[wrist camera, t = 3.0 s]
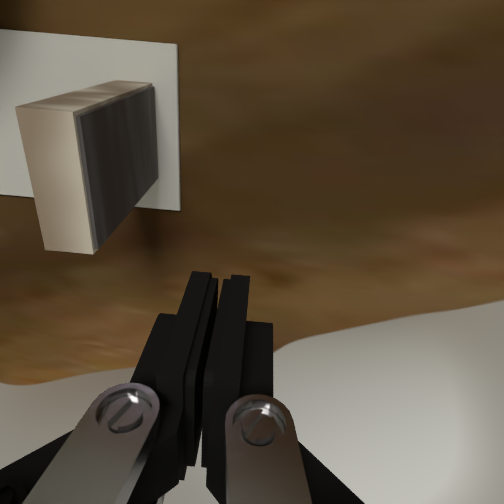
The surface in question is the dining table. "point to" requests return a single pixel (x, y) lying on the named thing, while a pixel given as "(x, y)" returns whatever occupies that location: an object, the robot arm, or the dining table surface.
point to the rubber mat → (79, 77)
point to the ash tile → (89, 160)
